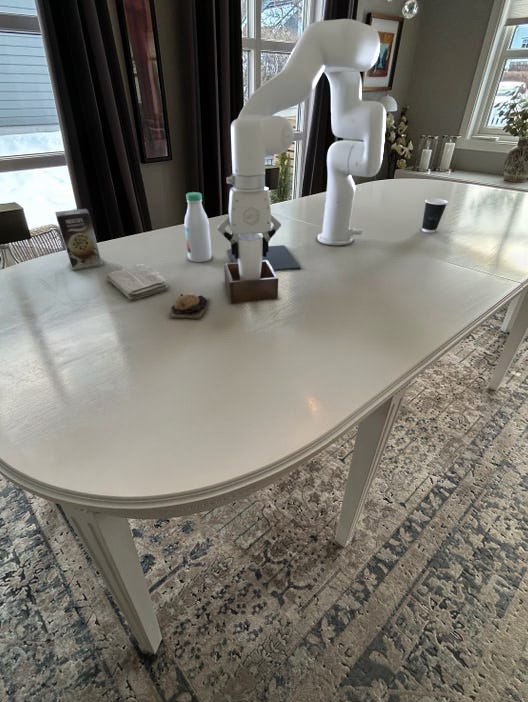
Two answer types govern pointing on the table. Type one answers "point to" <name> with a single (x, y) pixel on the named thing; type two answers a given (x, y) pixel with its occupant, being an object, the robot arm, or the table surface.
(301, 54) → the robot arm
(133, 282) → the washcloth
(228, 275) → the box
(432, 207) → the dixie cup
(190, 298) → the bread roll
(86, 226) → the cookie box
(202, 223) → the milk bottle
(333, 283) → the table surface
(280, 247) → the mat
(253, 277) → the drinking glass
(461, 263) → the table surface
